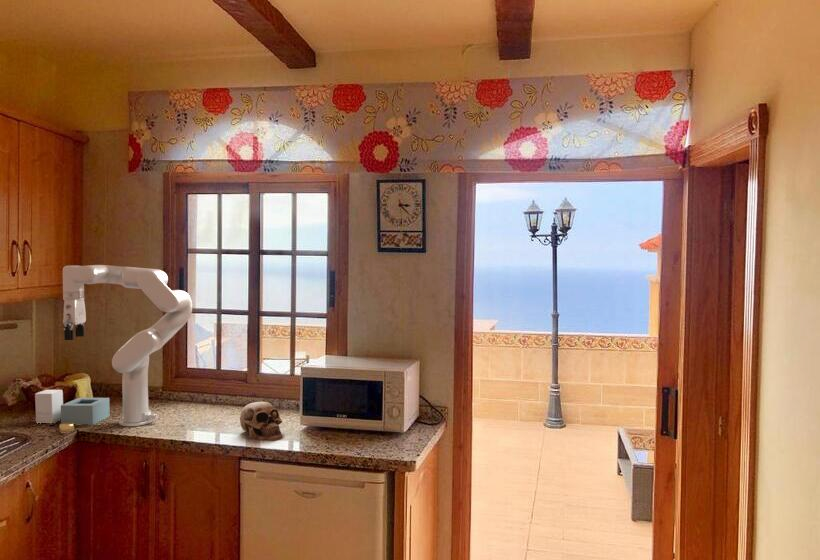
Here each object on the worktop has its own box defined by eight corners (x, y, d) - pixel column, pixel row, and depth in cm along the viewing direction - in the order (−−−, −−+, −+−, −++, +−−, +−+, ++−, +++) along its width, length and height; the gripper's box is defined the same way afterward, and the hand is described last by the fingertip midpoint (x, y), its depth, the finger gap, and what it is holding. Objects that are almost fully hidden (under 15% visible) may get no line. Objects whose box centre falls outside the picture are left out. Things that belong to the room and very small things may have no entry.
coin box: (109, 416, 262) (109, 397, 261) (92, 425, 249) (92, 405, 248) (79, 416, 262) (79, 397, 262) (61, 425, 249) (60, 405, 249)
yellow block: (77, 429, 243) (76, 422, 243) (69, 433, 238) (69, 426, 238) (64, 429, 243) (64, 422, 243) (56, 433, 238) (56, 426, 238)
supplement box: (64, 419, 257) (63, 389, 257) (52, 424, 250) (51, 393, 249) (47, 419, 258) (46, 389, 257) (35, 424, 251) (34, 393, 250)
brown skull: (279, 440, 228) (275, 404, 228) (233, 444, 229) (229, 409, 229) (290, 429, 244) (286, 396, 244) (247, 433, 245) (244, 400, 245)
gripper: (73, 297, 241) (74, 341, 242) (92, 294, 259) (93, 335, 259) (53, 297, 241) (54, 341, 241) (73, 294, 258) (74, 335, 259)
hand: (74, 338), depth 250 cm, fingers open, 9 cm apart
